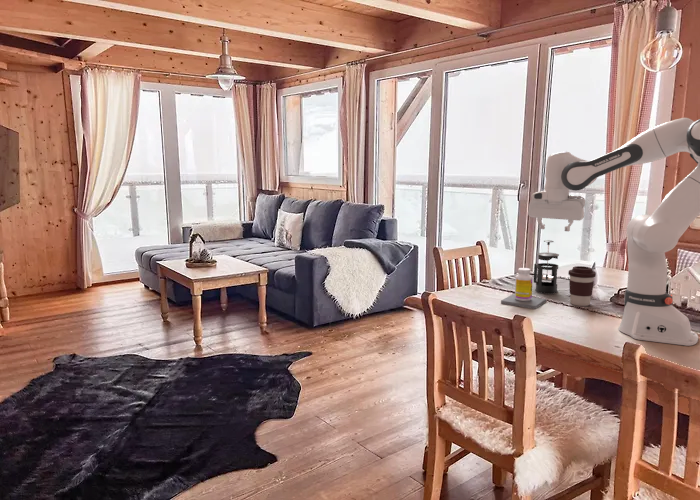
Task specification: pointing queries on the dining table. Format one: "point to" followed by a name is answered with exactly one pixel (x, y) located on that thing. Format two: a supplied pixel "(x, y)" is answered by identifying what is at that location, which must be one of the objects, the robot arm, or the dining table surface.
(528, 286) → the supplement bottle
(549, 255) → the french press
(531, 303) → the mat
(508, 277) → the dining table surface
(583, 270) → the coffee cup
